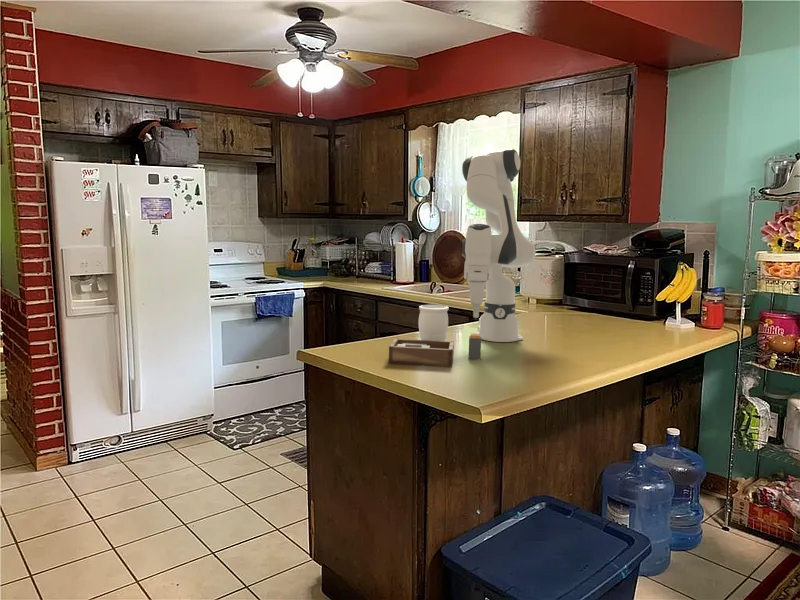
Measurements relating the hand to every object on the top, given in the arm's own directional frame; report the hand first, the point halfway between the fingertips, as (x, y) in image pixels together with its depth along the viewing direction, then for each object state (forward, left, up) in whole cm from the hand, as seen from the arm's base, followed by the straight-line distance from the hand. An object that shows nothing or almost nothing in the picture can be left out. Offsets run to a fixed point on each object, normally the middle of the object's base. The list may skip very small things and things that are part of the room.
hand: (476, 315), depth 201 cm
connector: (0, 0, -15) cm, 15 cm away
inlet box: (+8, -17, -15) cm, 24 cm away
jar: (-12, -15, -15) cm, 24 cm away
